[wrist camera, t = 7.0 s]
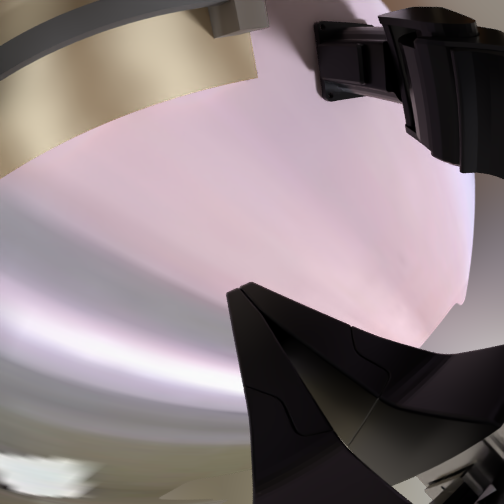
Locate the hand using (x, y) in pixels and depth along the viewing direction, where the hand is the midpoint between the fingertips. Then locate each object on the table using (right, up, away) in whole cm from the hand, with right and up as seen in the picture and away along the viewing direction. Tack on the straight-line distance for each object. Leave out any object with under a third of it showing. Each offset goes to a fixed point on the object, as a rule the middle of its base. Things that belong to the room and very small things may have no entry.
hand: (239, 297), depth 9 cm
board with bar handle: (-14, +11, 0) cm, 17 cm away
